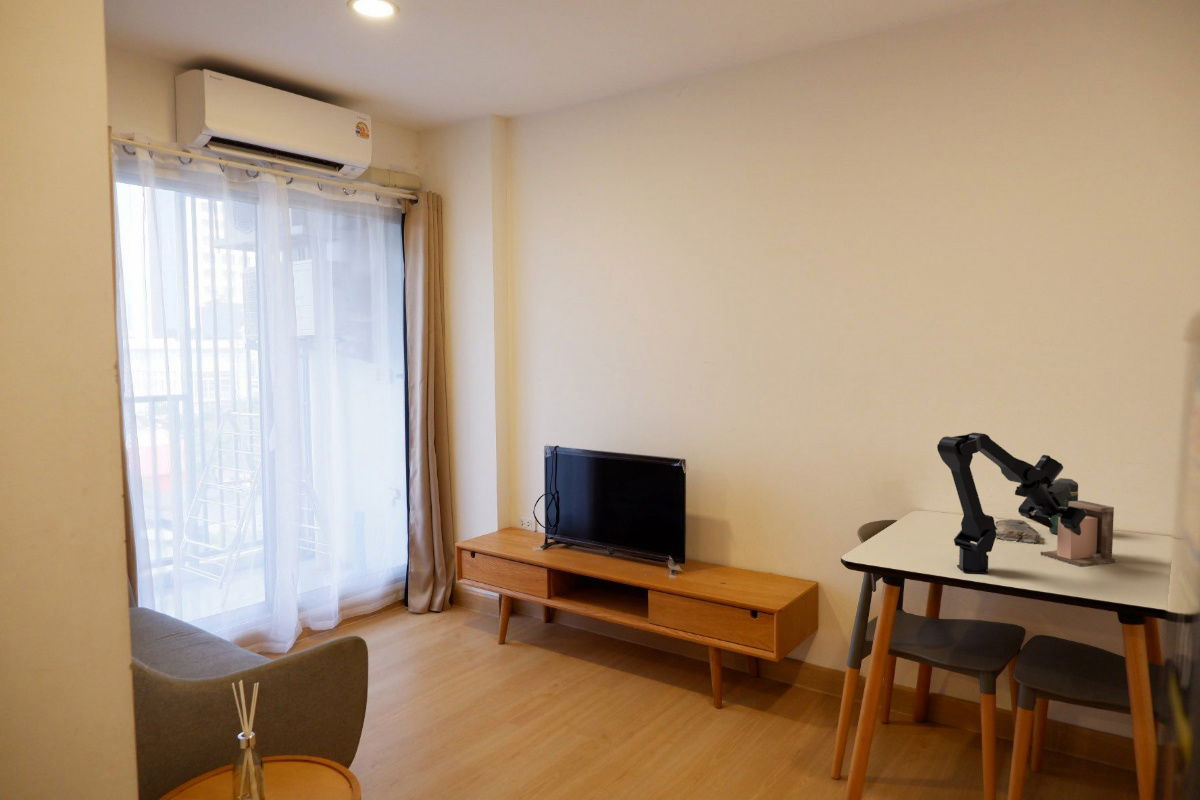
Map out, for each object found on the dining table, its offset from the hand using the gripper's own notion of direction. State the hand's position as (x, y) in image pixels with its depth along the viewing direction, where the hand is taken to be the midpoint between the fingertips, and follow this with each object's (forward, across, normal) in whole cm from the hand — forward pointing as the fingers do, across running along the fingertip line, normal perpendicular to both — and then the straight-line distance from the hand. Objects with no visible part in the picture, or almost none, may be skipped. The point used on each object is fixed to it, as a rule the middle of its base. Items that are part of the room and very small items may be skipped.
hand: (1065, 530), depth 221 cm
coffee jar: (+26, +25, -14) cm, 39 cm away
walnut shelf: (+10, 0, +2) cm, 10 cm away
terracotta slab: (+9, 0, +2) cm, 9 cm away
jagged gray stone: (+14, +28, -1) cm, 31 cm away
